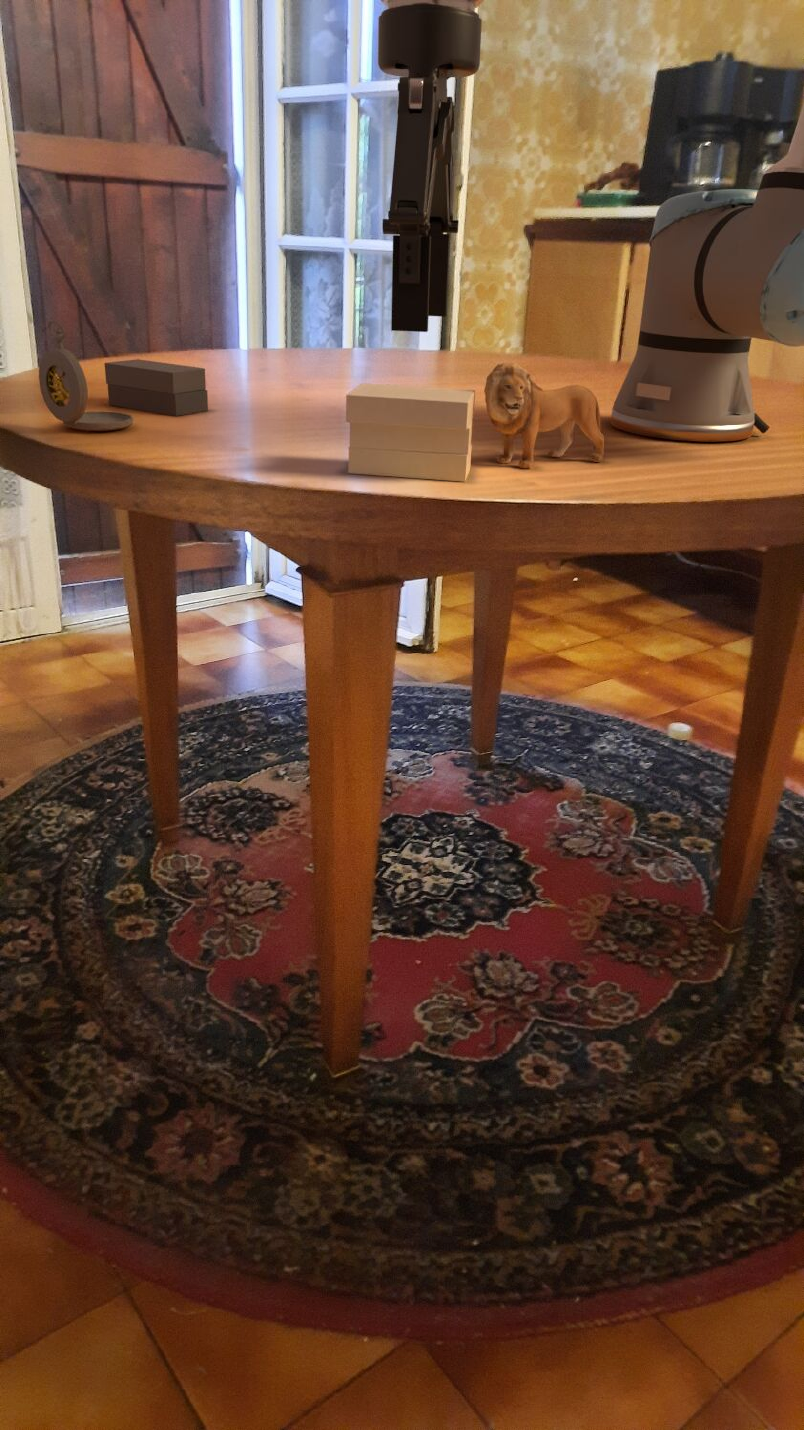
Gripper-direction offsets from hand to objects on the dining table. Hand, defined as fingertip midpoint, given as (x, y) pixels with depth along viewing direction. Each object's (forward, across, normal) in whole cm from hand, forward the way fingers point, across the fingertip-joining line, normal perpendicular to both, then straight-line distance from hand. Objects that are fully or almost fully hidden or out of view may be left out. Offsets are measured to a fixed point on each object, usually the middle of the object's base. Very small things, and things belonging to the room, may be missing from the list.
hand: (420, 323), depth 83 cm
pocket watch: (+12, -8, -34) cm, 36 cm away
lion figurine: (+12, -7, +11) cm, 18 cm away
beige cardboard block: (+12, 0, 0) cm, 12 cm away
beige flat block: (+8, 0, 0) cm, 8 cm away
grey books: (+12, -22, -32) cm, 40 cm away
